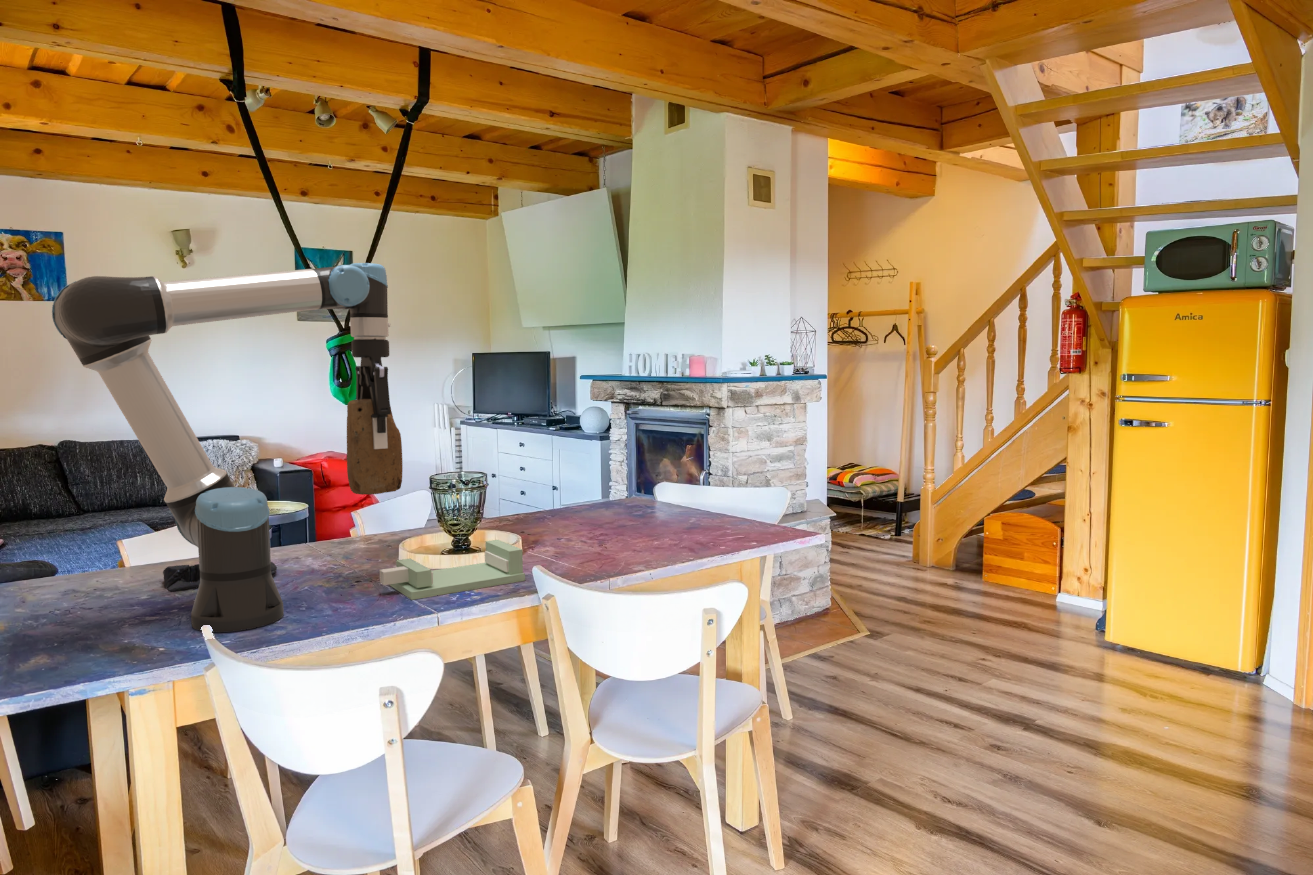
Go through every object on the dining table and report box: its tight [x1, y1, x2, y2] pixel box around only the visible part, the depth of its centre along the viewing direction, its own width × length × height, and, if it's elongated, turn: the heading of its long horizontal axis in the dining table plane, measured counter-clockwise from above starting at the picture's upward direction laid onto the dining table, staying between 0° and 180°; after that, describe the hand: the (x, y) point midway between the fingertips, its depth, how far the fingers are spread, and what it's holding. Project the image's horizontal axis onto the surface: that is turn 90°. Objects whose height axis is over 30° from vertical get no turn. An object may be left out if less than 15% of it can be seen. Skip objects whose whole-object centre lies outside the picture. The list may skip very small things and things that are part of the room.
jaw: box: [379, 557, 433, 588], centre depth 178 cm, size 8×12×3 cm
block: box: [346, 399, 403, 495], centre depth 187 cm, size 11×8×20 cm
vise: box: [389, 539, 526, 601], centre depth 184 cm, size 24×14×6 cm, turn 125°
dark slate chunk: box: [162, 561, 278, 593], centre depth 189 cm, size 15×22×5 cm
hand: (374, 446), depth 187 cm, fingers closed on block, 8 cm apart
